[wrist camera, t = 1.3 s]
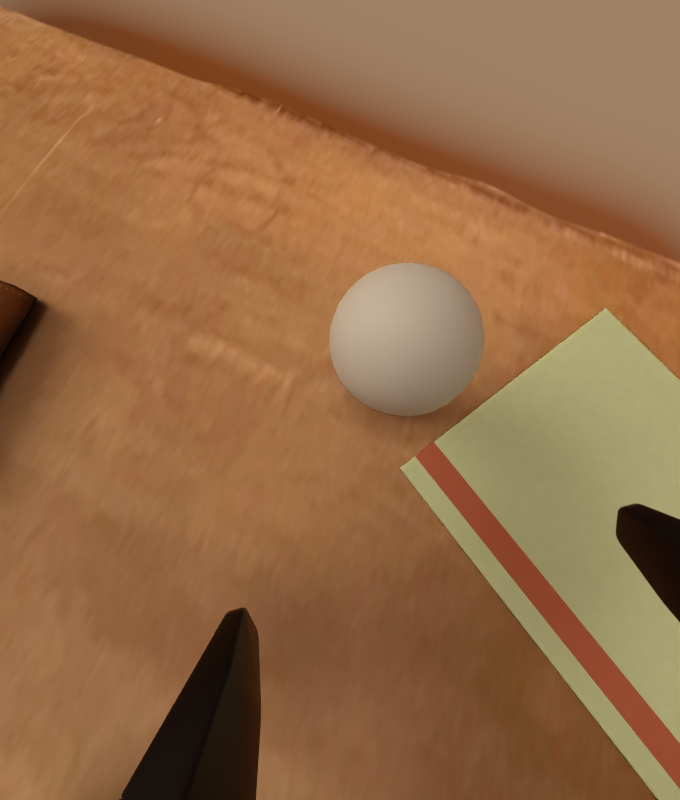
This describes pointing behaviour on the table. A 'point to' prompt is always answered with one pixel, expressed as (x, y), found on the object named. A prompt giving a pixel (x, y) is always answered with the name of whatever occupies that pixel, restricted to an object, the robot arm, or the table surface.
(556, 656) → the cloth
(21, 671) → the table surface
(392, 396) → the lightbulb
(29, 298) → the sunglasses case
